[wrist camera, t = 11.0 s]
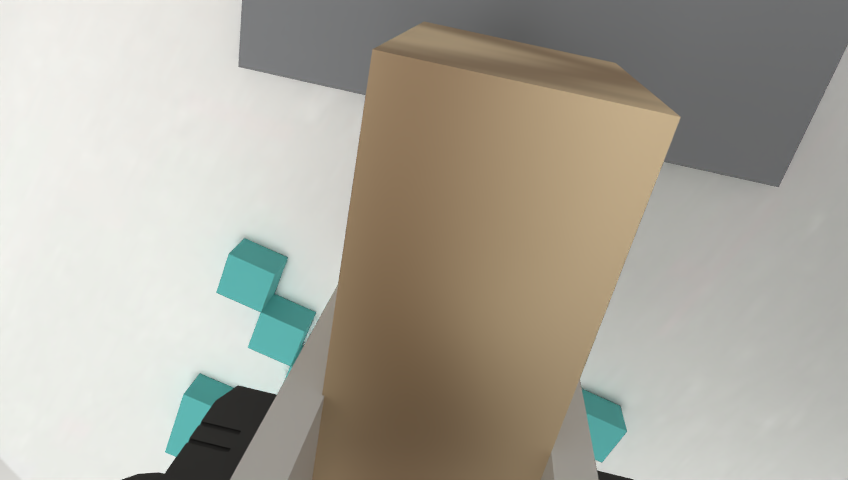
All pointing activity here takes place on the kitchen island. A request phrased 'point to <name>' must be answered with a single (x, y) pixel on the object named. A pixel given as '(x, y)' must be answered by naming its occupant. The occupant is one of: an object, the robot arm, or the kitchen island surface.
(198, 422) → the alien figure
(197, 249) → the kitchen island surface
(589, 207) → the tan bevelled pillar
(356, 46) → the mat
